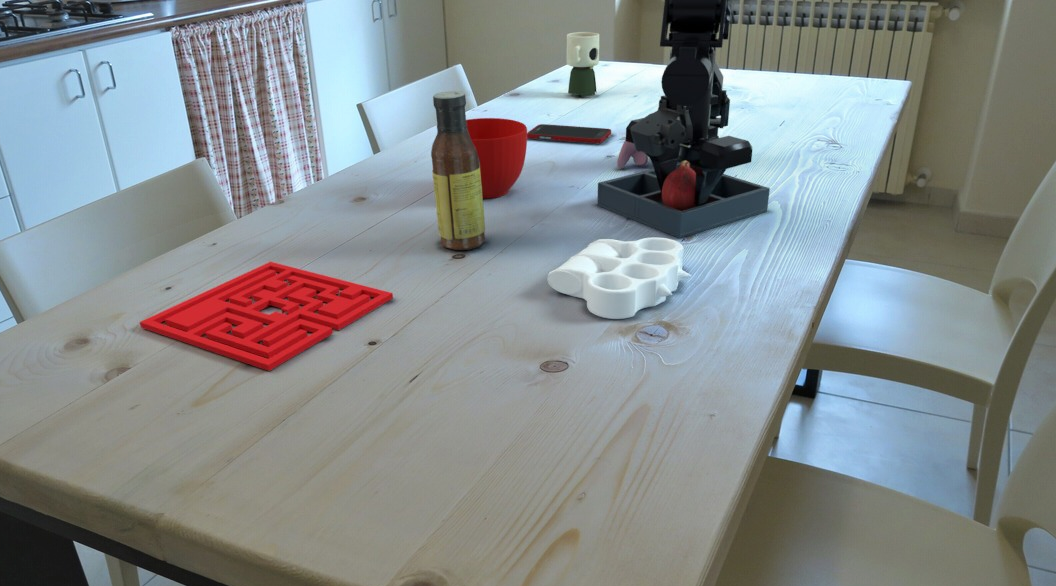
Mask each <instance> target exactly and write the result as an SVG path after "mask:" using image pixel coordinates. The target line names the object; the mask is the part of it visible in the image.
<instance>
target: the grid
mask: <svg viewBox="0 0 1056 586" xmlns="http://www.w3.org/2000/svg"><path fill="white" fill-rule="evenodd" d="M681 163H682V162H677V166H676V169H678V168H679V167H680V165H681ZM689 167H690V168H691V169H692V167H691V166H690V164H689ZM692 170H693V169H692ZM770 191H771V188H770V187H767V186H763V185H761V184H758V183H754V182H751V181H747V180H744V179H741V178H738V177H735V176H732V175H728V174H725V173H723V175H722V176H721V178H720V179H719V181H718V182H717V184H716V186H715V187H714V189H713V191H712V192H711V194H710V196H709V198H708V199H707V201H706V203H705V204H704V205H701V206H697V207H694V208H691V209H687V210H684V211H680V210H677V209H674V208H671V207H669V206H666V205H665V204H664V202H663V199H662V194H661V191H660V187H659V184H658V180H657V177H656V173H655V170H654V168H651V169H648V170H643V171H639V172H635V173H631V174H627V175H624V176H620V177H615V178H611V179H607V180H603V181H600V182H599V181H598V182H597V201H596V202H597V203H596V204H597V206H598V207H601V208H603V209H605V210H608V211H610V212H613V213H615V214H618V215H621V216H623V217H626V218H628V219H631V220H632V221H635V222H637V223H640V224H643V225H645V226H648V227H650V228H653V229H655V230H658V231H660V232H663V233H666V234H667V235H670V236H673V237H675V238H678V239H682V238H685V237H688V236H692V235H695V234H698V233H702V232H705V231H709V230H711V229H715V228H718V227H721V226H725V225H727V224H731V223H734V222H737V221H741V220H744V219H747V218H751V217H754V216H756V215H761V214H763V213H766V212H768V208H769V207H768V206H769V199H770Z"/></svg>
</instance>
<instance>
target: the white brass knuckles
mask: <svg viewBox="0 0 1056 586" xmlns="http://www.w3.org/2000/svg"><path fill="white" fill-rule="evenodd" d="M683 261H684V246H683V245H682V243H681V242H679V241H677V240H674V239H671V238H666V237H644V238H639V239H638V240H629V241H627V240H626V241H624V240H619V239H612V238H599V239H596V240H594V241H592V242H590V243H588V246H587V247H585V248H584V249H582V250H581V251H580V252H578V253H576V254H574V255H572V256H571V257H569V258H568V260H567V261H565V262H564V263H563V264H561V265H560V266H558V267H557V268H556V269H553V270H551V271H549V272H548V275H547V277H546V280H547V283H548V285H549V286H550V287H551V289H554V290H555V291H557V292H558V293H561V294H564V295H568V296H570V297H574V298H579V299H583V300H585V301H586V307H587V309H588V311H589V312H590V313H591V314H593V315H595V316H597V317H599V318H604V319H609V320H623V319H629V318H633V317H635V315H636V313H638V312H639V311H640V310H642V309H646V308H653V307H656V306H658V305H660V304H662V303H664V302H665V301H666V299H667V297H668V296H673V292H676V291H677V290H678V286H679V282H680V281H684V280H685V279H688V278H691V277H692V275H691V274H690V273H688V272H687V271H685V270H683V264H684V263H683Z"/></svg>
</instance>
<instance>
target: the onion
mask: <svg viewBox="0 0 1056 586" xmlns="http://www.w3.org/2000/svg"><path fill="white" fill-rule="evenodd" d="M689 164H690V163H689V162H688V161H686V160H685V161H683V162H682V163H681V165H680V167H679V168H678V169H676V170H674V171H673V172H671V173H670V174H669V175H668V176H667V178H666V179H665V181H664V184H663V187H662V199H663V202H664V204H665V205H666V206H669V207H671V208H674V209H677V210H680V211H684V210H687V209H691V208H694V207H695V182H696V173H695V171H694V170H692V169H691V168H690V167H689Z"/></svg>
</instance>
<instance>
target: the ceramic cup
mask: <svg viewBox="0 0 1056 586" xmlns="http://www.w3.org/2000/svg"><path fill="white" fill-rule="evenodd" d="M466 123H467V129H468V132H469V135H470V138H471V140H472V143H473V144H474V146H475V148H476V151H477V154H478V158H479V163H480V174H481V185H482V197H483V199H495V198H500V197H503V196H505V195H507V194H508V193H509V191H510V190H511V189H512V187H513V186H514V185H515V183H516V182H517V181H518V179H519V177H520V176H521V174H522V171H523V169H524V165H525V161H526V155H527V145H528V137H527V133H528V127H527V125H526V124H525V123H523V122H521V121H519V120H515V119H509V118H500V117H499V118H497V117H482V118H479V117H478V118H469V119H466Z"/></svg>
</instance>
